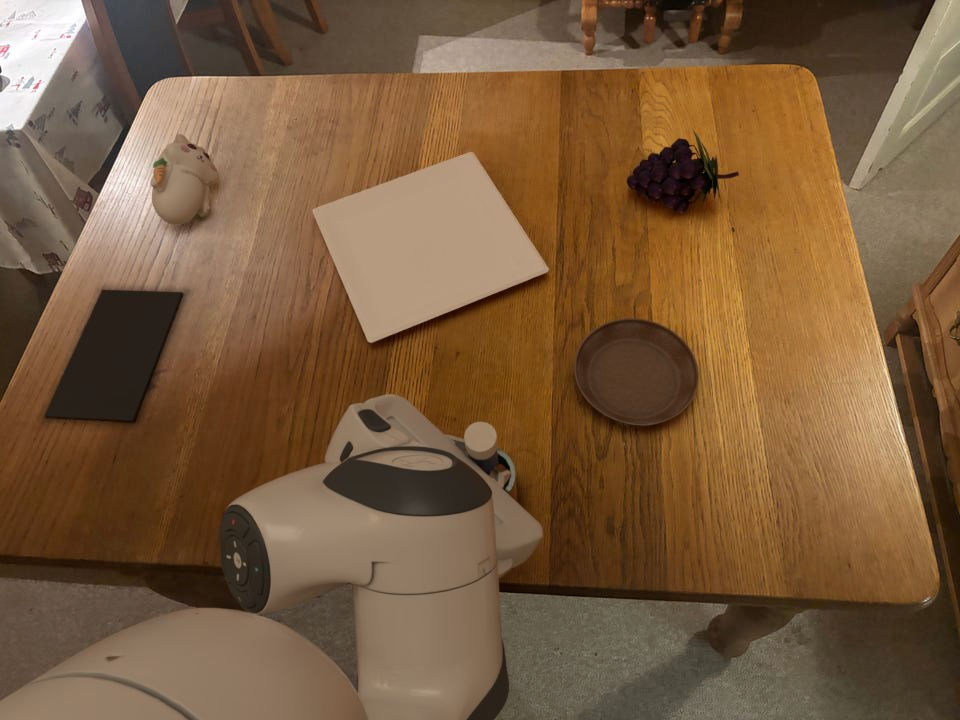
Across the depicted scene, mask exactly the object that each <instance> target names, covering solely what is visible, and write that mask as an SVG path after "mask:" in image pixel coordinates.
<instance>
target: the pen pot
mask: <svg viewBox="0 0 960 720" xmlns="http://www.w3.org/2000/svg"><path fill="white" fill-rule="evenodd" d="M497 453H498V463H499V464H502V465H503V466H504V467H505V468H506V469H508V470H509V471H510V472H511V473H512V474H511V476H510V478H509V479H508V481H507V482H506V483H505V485H504V487H503V490H504V491H505V492H507V493H508V494H509V495H510V496H511V497H512V498H513V499H514V500H515V501H516V502H517V503H518V482H517V481H518V480H517V469H516V464H515V463H514V460H513V459H512V458H511V456H510V455H509V454H508V453H506V452H505V451H504V450H503V449H502V448H498V447H497Z"/></svg>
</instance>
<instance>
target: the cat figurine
mask: <svg viewBox="0 0 960 720" xmlns="http://www.w3.org/2000/svg"><path fill="white" fill-rule="evenodd" d="M210 157H211V156H210V155H209V154H208V153H207V152H206V150H205V149H204V147H202V146H198V145H197V144H195V143H193V142H190V141H189V140H188V138H187V137H186V136H185V135H184V134H182V133H178V134H176V135H175V137H174V140H173V142H170V143H169V144H168V145H166V147H165V148H164V149H163V150H162V152H161V153H160V155H159V156H158V158H157V160H155V161H154V162H153V165H152V168H153V171H152V174H153V175H152V177H151V178H150V181H149V182H150V186H151V187H152V190H151V202H152V207H153V210H154V211H155V214H157V216H158V217H159V218H160V219H161V220H162V221H164V222H165V223H167V224H169V225H172V226H180V225H185V224H187V223H188V222H190V221H191V220H192V219H193V218H194V217H195V216H197V214H198V215H199V217H201V218H205V217H206V216H208V215H209V211H210V209H211V201H212V199H211V192H210V188H209V187H211V185H213V184H215V183H217V182H218V181H219V179H220V174H219V171H218V169H217V167H216V165H215V164H214V163H213V161H212V159H211V158H210Z"/></svg>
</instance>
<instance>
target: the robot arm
mask: <svg viewBox="0 0 960 720" xmlns="http://www.w3.org/2000/svg"><path fill="white" fill-rule="evenodd" d="M324 454H325V455H324V462H322V463H318V464H314V465H311V466H307V467H304V468H301V469H299V470H295V471H293V472H290V473H287V474H285V475H282V476H279V477H277V478H275V479H272V480H270V481H267V482H266V483H263V484H261V485H259V486H257V487H255V488H253V489H251V490H248V491H247V492H245V493H244V494H242V495H240V496H238V497H237V498H235V499H234V500H233V501H232V502H230V503H229V504H228V506H227V507H226V508H225V510H224V512H223V513H222V516H221V520H220V524H219V531H218V532H219V533H218V535H219V553H220V554H219V555H220V561H221V568H222V574H223V578H224V579H225V581H226V585H227V586H228V589H229V592H230V593H231V595H232V596H233V598H234V599H235V600H236V602H237V603H238V604H239V606H240V607H241V608H242V609H244V610H239V609H233V608H231V609H230V608H223V607H222V608H221V607H194V608H185V609H179V610H175V611H171V612H168V613H164V614H161V615H158V616H156V617H152V618H149V619H147V620H143V621H141V622H138V623H136V624H133V625H131V626H129V627H126V628H124V629H122V630H119V631H117V632H115V633H113V634H111V635H109V636H106V637H104V638H103V639H101V640H99V641H97V642H95V643H93V644H91V645H88V646H87V647H86V648H84V649H82V650H80V651H78V652H77V653H75V654H74V655H71V656H70V657H69V658H67V659H66V660H64V661H62V662H61V663H59V664H57V665H56V666H54V667H52V668H50V669H49V670H47V671H46V672H45V673H43V674H41V675H39V676H38V677H36V678H34V679H33V680H32V681H30V682H28V683H27V684H24V685H23V686H22V687H20V688H19V689H17V690H15V691H14V692H12V693H10V694H9V695H6V696H5V697H4V698H2V699H1V700H0V720H495V719H496V718H497V717H498V716H499V714H500V713H501V712H502V710H503V709H504V707H505V705H506V703H507V700H508V697H509V694H510V681H509V680H510V679H509V674H508V672H509V671H508V665H507V658H506V650H505V644H504V640H503V631H502V630H503V629H502V614H501V613H502V612H501V596H500V594H501V593H500V579H501V578H503V577H505V576H506V575H507V574H508V573H510V572H511V570H512V569H514V568H516V567H518V566H520V565H521V564H523V563H525V562H526V561H527V560H529V559H530V557H531V556H532V555H533V554H534V553H535V551H536V550H537V548H539V547H538V546H539V545H540V544H541V542H542V541H543V539H544V529H543V526H542V524H541V523H540V521H538V520H537V519H536V518H535V517H534V516H532V515H531V514H530V513H529V512H528V511H527V510H526V509H525V508H524V507H523V506H522V505H521V504H520V503H519V502H518V501H517V502H516V501H515V500H514V499H513V498H512V497H511V496H510V495H509V494H508V493H507V492H505V491H504V490H503V487H504V485H505V483H506V482H507V481H508V479H509V478H510V476H511V474H512V473H511V472H510V471H509V470H508V469H506V468H505V467H504V466H503V465H502V464H499V465H496V466H494V467H493V468H492V470H491V471H490V474H489V475H487V474H486V473H485V472H484V471H483V470H482V469H481V468H480V467H479V466H478V465H477V464H475V463H474V462H473V461H472V460H471V459H470V458H469V455H468V452H467V450H466V446H465V441H464V437H463V438H462V437H459V436H455V435H451V434H448V433H445V434H444V433H443V431H442V430H440V429H439V428H438V427H437V426H436V425H435V424H434V423H432V421H430V419H428V418H427V417H426V416H425V415H424V414H423V413H422V412H421V411H420V410H419V409H418V408H417V407H416V406H415V405H413V404H412V403H411V402H410V401H409V400H408V399H407V398H405V397H403V396H401V395H398V394H395V393H389V394H388V393H387V394H383V395H378V396H375V397H372V398H368V399H367V400H365V401H364V402H363V403H362V402H357V403H352V404H350V405H349V406H348V407H347V409H346V411H345V412H344V414H343V415H342V416H341V418H340V420H339V422H338V424H337V426H336V428H335V430H334V432H333V434H332V436H331V439H330V441H329V444H328V446H327V449H326V451H325V453H324ZM347 584H351V589H352V590H351V591H352V593H351V594H352V606H353V618H354V621H353V622H354V633H355V648H356V649H355V650H356V665H357V669H356V670H357V673H356V688H355V687H354V685H353V683H352V682H351V681H350V679H349V678H348V677H347V675H346V674H345V673H344V672H343V670H342V669H341V668H340V667H339V666H338V664H337V663H335V661H334V660H333V659H332V658H331V657H330V656H329V655H328V654H327V653H326V652H325V651H323V650H322V648H320V647H318V646H317V645H316V644H315V643H313V642H312V641H311V640H309V639H308V638H306V637H305V636H304V635H302V634H300V633H299V632H298V631H296V630H294V629H292V628H290V626H287V625H285V624H283V623H280V622H278V621H277V620H274V619H271V618H269V617H265V616H264V615H267V614H271V613H275V612H279V611H283V610H286V609H289V608H292V607H295V606H297V605H300V604H302V603H306V602H308V601H311V600H313V599H316V598H318V597H321V596H323V595H325V594H327V593H330V592H332V591H335V590H337V589H339V588H341V587H343V586H345V585H347Z"/></svg>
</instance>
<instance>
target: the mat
mask: <svg viewBox="0 0 960 720" xmlns="http://www.w3.org/2000/svg"><path fill="white" fill-rule="evenodd" d="M98 295H99V296H98V298H97V300H96V302H95V304H94V306H93V308H92V310H91V313H90V314H89V315H90V316H89V318H88V320H87V321H86V324H85V326H84V328H83V330H82V332H81V335H80V337H79V339H78V341H77V343H76V346H75V348H74V350H73V353H72V355H71V357H70V360H69V361H68V364H67V366H66V368H65V369H64V372H63V374H62V376H61V378H60V381H59V383H58V385H57V387H56V389H55V392H54V394H53V396H52V397H51V400H50V403H49V405H48V407H47V408H46V411H45V414H44V417H45V418H47V419H62V420H63V419H65V420H83V421H85V420H86V421H102V422H103V421H104V422H105V421H106V422H123V423H124V422H125V423H135V422H136V420H137V417H138V415H139V412H140V409H141V407H142V404H143V401H144V399H145V396H146V393H147V391H148V388H149V386H150V383H151V380H152V378H153V375H154V373H155V369H156V367H157V364H158V362H159V359H160V356H161V355H162V351H163V349H164V346H165V344H166V340H167V338H168V336H169V334H170V330H171V327H172V326H173V323H174V320H175V317H176V315H177V312H178V310H179V306H180V304H181V302H182V298H183V297H184V293H183V292H182V291H159V290H127V289H126V290H125V289H101V292H100V293H99V294H98Z"/></svg>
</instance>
